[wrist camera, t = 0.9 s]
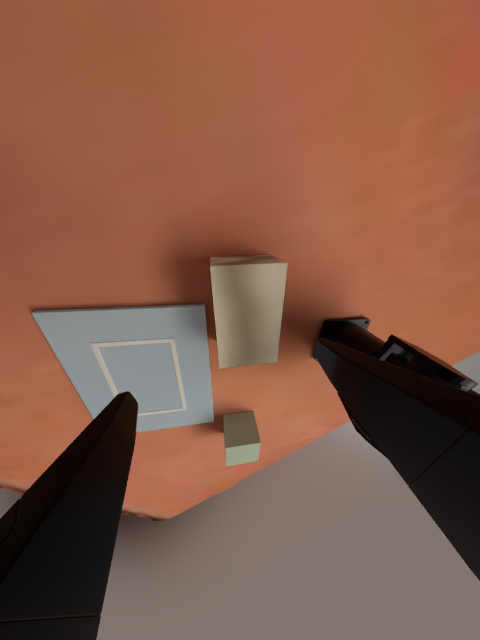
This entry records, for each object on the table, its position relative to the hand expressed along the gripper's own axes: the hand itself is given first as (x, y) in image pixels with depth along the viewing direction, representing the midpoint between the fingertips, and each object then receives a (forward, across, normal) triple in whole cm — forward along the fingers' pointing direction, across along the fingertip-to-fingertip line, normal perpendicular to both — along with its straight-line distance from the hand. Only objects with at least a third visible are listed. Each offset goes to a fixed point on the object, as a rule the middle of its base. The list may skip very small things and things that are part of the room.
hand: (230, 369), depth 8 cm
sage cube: (+11, 0, +24) cm, 26 cm away
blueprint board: (+12, +10, +10) cm, 19 cm away
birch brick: (+12, -3, +2) cm, 12 cm away
